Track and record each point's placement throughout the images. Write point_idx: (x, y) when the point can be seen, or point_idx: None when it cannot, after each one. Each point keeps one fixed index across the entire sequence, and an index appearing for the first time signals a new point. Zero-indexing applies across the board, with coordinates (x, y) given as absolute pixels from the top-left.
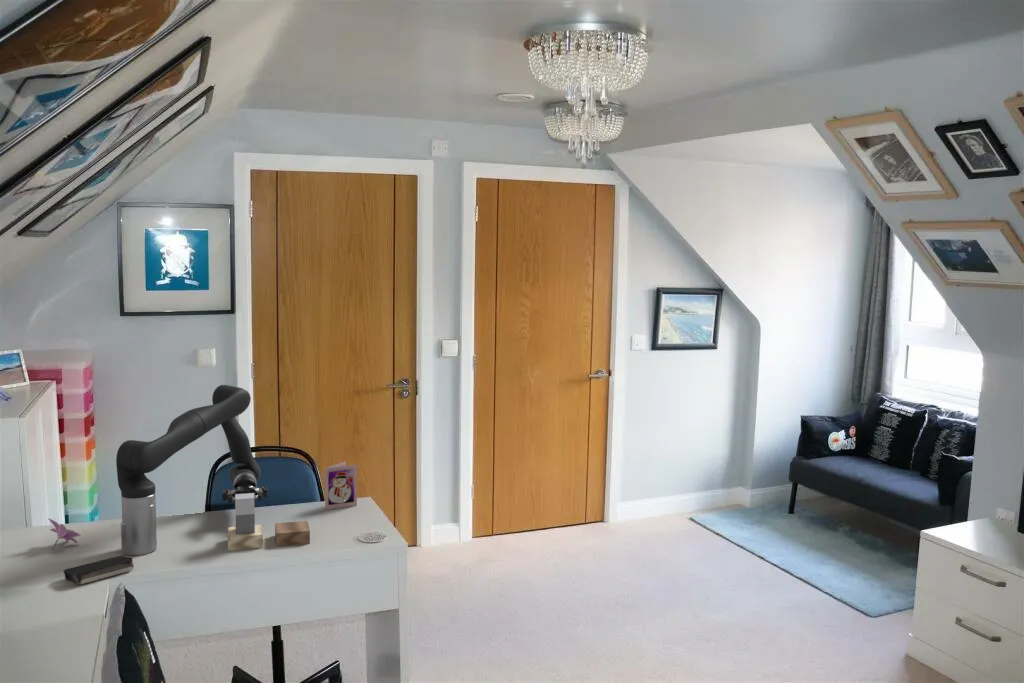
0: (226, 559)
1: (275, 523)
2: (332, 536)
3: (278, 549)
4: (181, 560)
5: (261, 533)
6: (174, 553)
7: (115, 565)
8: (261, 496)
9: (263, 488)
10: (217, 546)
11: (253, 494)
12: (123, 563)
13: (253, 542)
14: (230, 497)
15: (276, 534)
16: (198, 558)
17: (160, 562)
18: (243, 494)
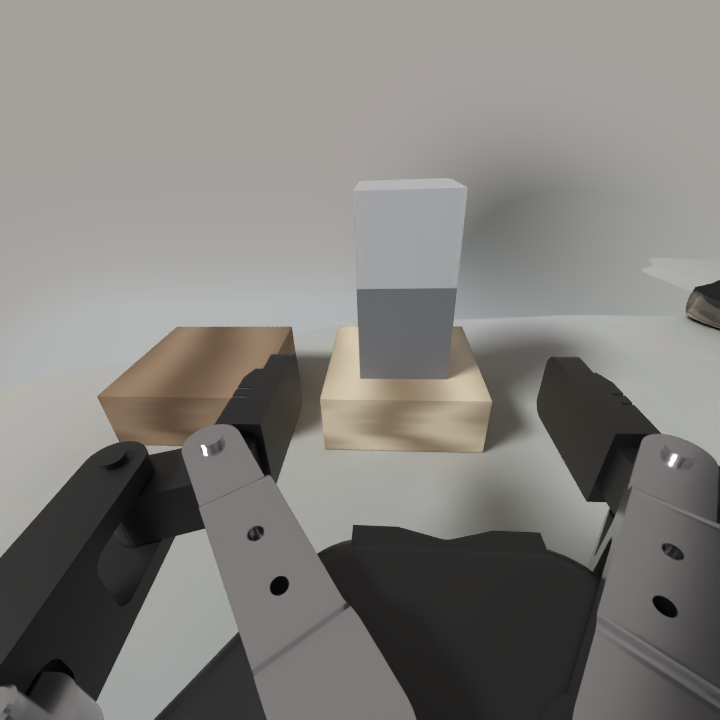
0: None
1: None
2: (77, 395)
3: (298, 352)
4: (583, 343)
5: (341, 333)
6: (652, 381)
7: (716, 282)
8: (258, 373)
9: (63, 573)
10: (508, 401)
11: (359, 187)
12: (705, 285)
13: None
14: (570, 357)
15: (291, 329)
16: (535, 345)
17: (645, 343)
18: (416, 187)
